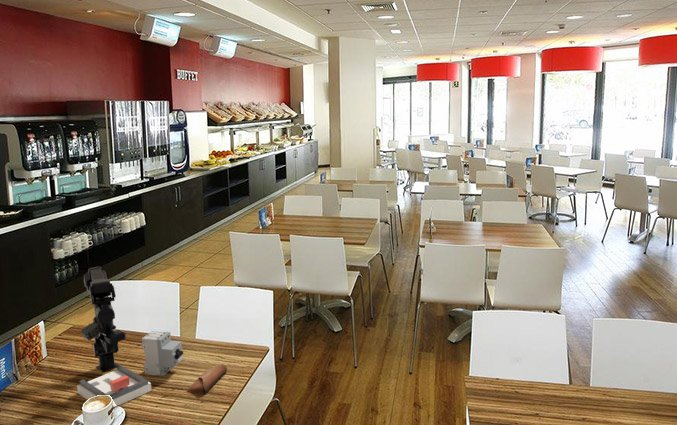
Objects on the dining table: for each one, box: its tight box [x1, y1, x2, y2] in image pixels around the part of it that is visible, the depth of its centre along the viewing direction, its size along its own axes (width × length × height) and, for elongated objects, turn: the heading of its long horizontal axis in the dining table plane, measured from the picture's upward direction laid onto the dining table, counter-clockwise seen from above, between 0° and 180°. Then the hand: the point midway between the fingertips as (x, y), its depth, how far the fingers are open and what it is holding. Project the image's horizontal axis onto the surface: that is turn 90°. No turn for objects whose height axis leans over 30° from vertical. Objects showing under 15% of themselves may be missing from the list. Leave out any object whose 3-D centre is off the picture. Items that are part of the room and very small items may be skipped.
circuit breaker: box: [141, 330, 184, 377], centre depth 215 cm, size 8×14×15 cm, turn 78°
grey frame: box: [78, 364, 149, 400], centre depth 201 cm, size 20×16×2 cm
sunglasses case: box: [186, 364, 228, 396], centre depth 207 cm, size 18×7×7 cm
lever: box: [110, 375, 130, 391], centre depth 198 cm, size 2×6×6 cm, turn 140°
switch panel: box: [76, 369, 153, 406], centre depth 201 cm, size 20×18×3 cm
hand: (108, 352), depth 207 cm, fingers closed
